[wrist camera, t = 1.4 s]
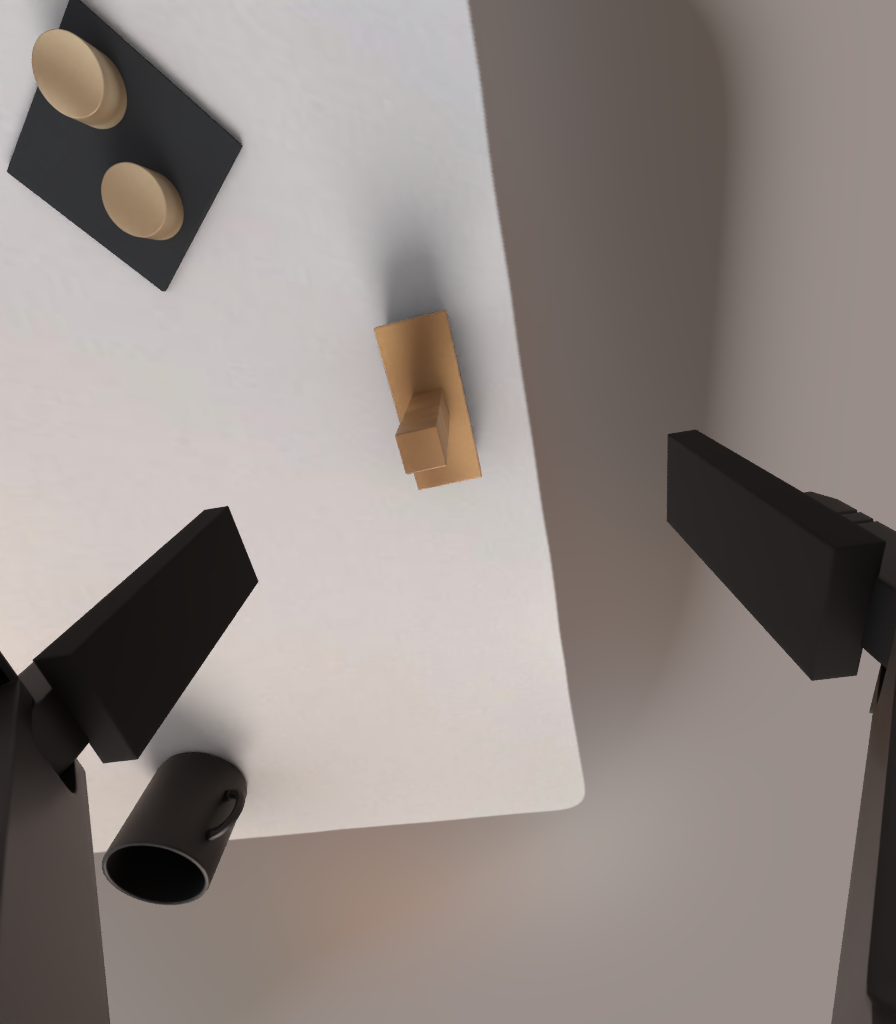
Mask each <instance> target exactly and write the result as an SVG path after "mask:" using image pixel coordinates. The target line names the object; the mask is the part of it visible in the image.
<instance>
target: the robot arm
mask: <svg viewBox="0 0 896 1024" xmlns="http://www.w3.org/2000/svg"><path fill="white" fill-rule="evenodd" d="M667 464H668V465H667V466H668V467H667V522H668V523H669V524H670V525H671V526H672V527H673V528H674V529H675V530H676V532H677V533H679V535H680V536H681V537H682V538H683V539H684V540H685V541H686V543H687V544H688V545H689V546H690V547H691V548H692V549H693V550H694V551H695V552H696V554H697V555H698V556H699V557H700V558H701V559H702V560H703V561H704V562H705V564H707V566H708V567H709V568H710V569H711V570H712V571H713V572H714V573H715V575H716V576H717V577H718V578H719V579H720V580H721V581H722V582H723V583H724V584H725V586H726V587H727V588H728V589H729V590H730V591H731V592H732V593H733V594H734V595H735V597H736V598H737V599H738V600H739V601H740V602H741V603H742V604H743V605H744V606H745V608H746V609H747V610H748V611H749V612H750V613H751V614H752V615H753V616H754V617H755V619H756V620H757V621H758V622H759V623H760V624H761V625H762V626H763V627H764V629H765V630H766V631H767V632H768V633H769V634H770V635H771V636H772V637H773V638H774V639H775V641H776V642H777V643H778V644H779V645H780V646H781V647H782V648H783V649H784V650H785V652H786V653H787V654H788V655H789V656H790V657H791V658H792V659H793V660H794V662H795V663H796V664H797V665H798V666H799V667H800V668H801V669H802V670H803V671H804V672H805V674H806V675H807V676H808V677H809V678H810V679H811V680H812V681H813V680H822V679H830V678H839V677H847V676H855V675H857V672H858V667H859V663H860V658H861V654H862V649H863V648H864V649H865V650H866V651H867V652H868V653H869V654H871V655H872V656H873V657H874V658H875V659H876V660H877V661H878V662H880V663H881V667H880V671H879V675H878V679H877V683H876V687H875V691H874V695H873V699H872V703H871V708H870V713H873V716H872V723H871V730H870V738H869V746H868V753H867V760H866V768H865V776H864V783H863V791H862V798H861V806H860V813H859V820H858V828H857V836H856V843H855V851H854V858H853V866H852V873H851V880H850V888H849V895H848V903H847V910H846V918H845V925H844V933H843V941H842V948H841V955H840V963H839V970H838V978H837V985H836V993H835V1001H834V1008H833V1016H832V1024H896V531H894V530H892V529H890V528H889V527H887V526H885V525H883V524H881V523H879V522H878V521H876V522H874V521H873V519H872V518H870V517H869V516H867V515H865V514H863V513H861V512H859V513H857V510H856V509H854V508H852V507H850V506H849V505H847V504H845V503H843V502H841V501H839V500H838V499H834V498H831V497H828V496H824V495H821V494H817V493H814V492H805V493H803V492H801V491H800V490H798V489H796V488H795V487H793V486H791V485H789V484H788V483H786V482H784V481H782V480H781V479H779V478H777V477H776V476H774V475H772V474H771V473H769V472H767V471H766V470H764V469H762V468H760V467H759V466H757V465H755V464H754V463H752V462H750V461H748V460H747V459H745V458H743V457H741V456H740V455H738V454H737V453H734V452H733V451H731V450H730V449H728V448H726V447H725V446H723V445H721V444H719V443H718V442H716V441H714V440H713V439H711V438H709V437H707V436H706V435H704V434H702V433H700V432H699V431H697V430H691V431H684V432H678V433H672V434H668V463H667ZM257 583H258V579H257V577H256V574H255V572H254V569H253V567H252V564H251V562H250V559H249V557H248V554H247V552H246V549H245V547H244V544H243V542H242V539H241V537H240V534H239V532H238V529H237V527H236V524H235V522H234V519H233V517H232V514H231V512H230V509H229V507H228V506H226V507H219V508H213V509H207V510H204V511H203V512H202V513H201V514H199V515H198V516H197V517H196V518H195V519H194V520H192V521H191V522H190V523H189V524H188V525H187V526H186V527H184V528H183V529H182V530H181V531H180V532H179V533H178V534H176V535H175V536H174V537H173V538H172V539H171V540H170V541H168V542H167V543H166V544H165V545H164V546H163V547H162V548H160V549H159V550H158V551H157V552H156V553H155V554H154V555H152V556H151V557H150V558H149V559H148V560H147V561H146V562H144V563H143V564H142V565H141V566H140V567H139V568H138V569H136V570H135V571H134V572H133V573H132V574H131V575H130V576H128V577H127V578H126V579H125V580H124V581H123V582H121V583H120V584H119V585H118V586H117V587H116V588H115V589H113V590H112V591H111V592H110V593H109V594H108V595H107V596H105V597H104V598H103V599H102V600H101V601H100V602H99V603H97V604H96V605H95V606H94V607H93V608H92V609H91V610H89V611H88V612H87V613H86V614H85V615H84V616H83V617H81V618H80V619H79V620H78V621H77V622H76V623H75V624H73V625H72V626H71V627H70V628H69V629H68V630H67V631H65V632H64V633H63V634H62V635H61V636H60V637H59V638H57V639H56V640H55V641H54V642H53V643H52V644H50V645H49V646H48V647H47V648H46V649H45V650H44V651H42V652H41V653H40V654H39V655H38V656H37V657H36V658H34V659H33V661H34V662H33V663H32V664H31V665H29V666H28V667H27V668H26V669H25V670H24V671H23V672H21V673H20V674H19V675H18V676H17V674H16V673H15V671H14V670H13V669H12V667H11V666H10V664H9V663H8V661H7V660H6V659H5V657H4V656H3V654H2V653H1V652H0V1024H110V1018H109V1007H108V997H107V988H106V978H105V967H104V957H103V947H102V937H101V927H100V917H99V906H98V896H97V886H96V876H95V867H94V855H93V845H92V835H91V825H90V815H89V805H88V795H87V784H86V774H85V771H84V769H83V767H82V766H81V764H80V763H79V761H78V760H77V759H76V758H77V757H78V755H79V754H80V753H81V752H82V751H83V749H84V748H85V747H86V746H87V744H88V743H90V745H91V746H92V748H93V749H94V751H95V752H96V754H97V755H98V757H99V758H100V759H101V761H102V762H103V763H110V762H118V761H127V760H136V759H138V758H139V756H140V755H141V754H142V752H143V751H144V749H145V748H146V746H147V745H148V743H149V742H150V740H151V739H152V737H153V736H154V734H155V733H156V731H157V730H158V729H159V727H160V726H161V724H162V723H163V721H164V720H165V718H166V717H167V715H168V714H169V712H170V711H171V709H172V708H173V706H174V705H175V704H176V702H177V701H178V699H179V698H180V696H181V695H182V693H183V692H184V690H185V689H186V687H187V686H188V684H189V683H190V681H191V680H192V679H193V677H194V676H195V674H196V673H197V671H198V670H199V668H200V667H201V665H202V664H203V662H204V661H205V659H206V658H207V656H208V655H209V654H210V652H211V651H212V649H213V648H214V646H215V645H216V643H217V642H218V640H219V639H220V637H221V636H222V634H223V633H224V631H225V630H226V629H227V627H228V626H229V624H230V623H231V621H232V620H233V618H234V617H235V615H236V614H237V612H238V611H239V609H240V608H241V606H242V605H243V604H244V602H245V601H246V599H247V598H248V596H249V595H250V593H251V592H252V590H253V589H254V587H255V586H256V584H257Z"/></svg>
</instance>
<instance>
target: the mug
mask: <svg viewBox="0 0 896 1024" xmlns="http://www.w3.org/2000/svg"><path fill="white" fill-rule="evenodd" d="M246 795H247V787H246V782H245V780H244V778H243V776H242V775H241V773H240V772H239V771H238V770H237V769H236V768H235V767H233V766H232V765H231V764H229V763H228V762H226V761H224V760H222V759H220V758H217V757H214V756H211V755H207V754H202V753H185V754H179V755H176V756H173V757H171V758H169V759H168V760H167V761H165V762H164V763H163V764H162V765H161V766H160V767H159V768H158V770H157V772H156V773H155V775H154V776H153V778H152V780H151V781H150V783H149V784H148V786H147V788H146V789H145V791H144V792H143V794H142V796H141V797H140V799H139V800H138V802H137V804H136V805H135V807H134V809H133V810H132V812H131V813H130V815H129V817H128V818H127V820H126V821H125V823H124V825H123V826H122V828H121V829H120V831H119V833H118V834H117V836H116V837H115V839H114V841H113V842H112V844H111V845H110V847H109V849H108V850H107V852H106V854H105V855H104V857H103V861H102V870H103V873H104V875H105V876H106V878H107V880H108V881H109V882H110V883H111V884H112V885H113V886H114V887H116V888H117V889H118V890H120V891H121V892H123V893H125V894H127V895H129V896H131V897H133V898H136V899H138V900H142V901H145V902H149V903H154V904H161V905H179V904H185V903H189V902H192V901H194V900H196V899H198V898H200V897H201V896H202V895H203V894H204V893H205V892H206V891H207V890H208V888H209V885H210V883H211V880H212V878H213V875H214V873H215V871H216V868H217V866H218V863H219V861H220V858H221V856H222V854H223V851H224V849H225V847H226V844H227V842H228V839H229V837H230V835H231V832H232V830H233V827H234V825H235V823H236V820H237V819H238V817H239V815H240V814H241V812H242V810H243V807H244V803H245V798H246Z"/></svg>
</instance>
